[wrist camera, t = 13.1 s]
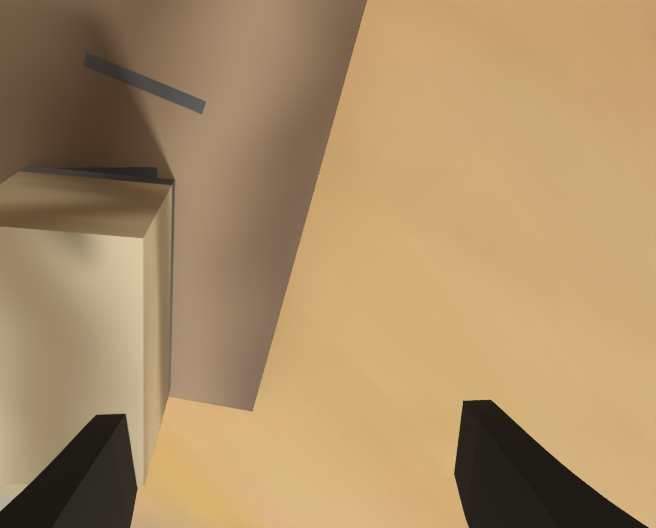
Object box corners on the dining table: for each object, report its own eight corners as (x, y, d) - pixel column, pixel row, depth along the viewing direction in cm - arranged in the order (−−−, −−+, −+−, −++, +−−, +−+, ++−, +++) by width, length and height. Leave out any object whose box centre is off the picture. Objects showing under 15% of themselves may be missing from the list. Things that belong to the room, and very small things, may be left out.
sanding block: (175, 179, 19) (143, 238, 15) (170, 387, 22) (143, 488, 18) (26, 165, 19) (-54, 222, 14) (43, 380, 22) (-18, 482, 17)
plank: (438, -281, 16) (451, -301, 15) (253, 392, 24) (252, 411, 23) (-48, -477, 14) (-76, -517, 13) (-69, 333, 22) (-87, 351, 21)
